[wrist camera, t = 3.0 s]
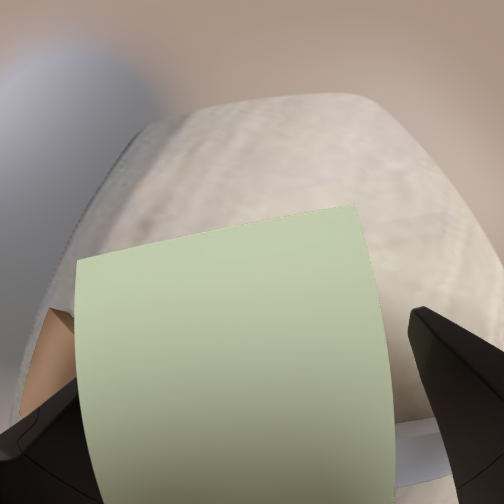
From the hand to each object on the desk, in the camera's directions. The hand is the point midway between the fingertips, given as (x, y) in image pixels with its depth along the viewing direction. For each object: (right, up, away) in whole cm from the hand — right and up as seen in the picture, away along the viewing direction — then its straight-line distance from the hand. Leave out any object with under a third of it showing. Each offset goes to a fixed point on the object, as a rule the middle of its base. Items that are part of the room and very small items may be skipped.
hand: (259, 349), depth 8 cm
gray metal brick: (+9, -8, +4) cm, 12 cm away
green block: (+2, -3, +7) cm, 7 cm away
